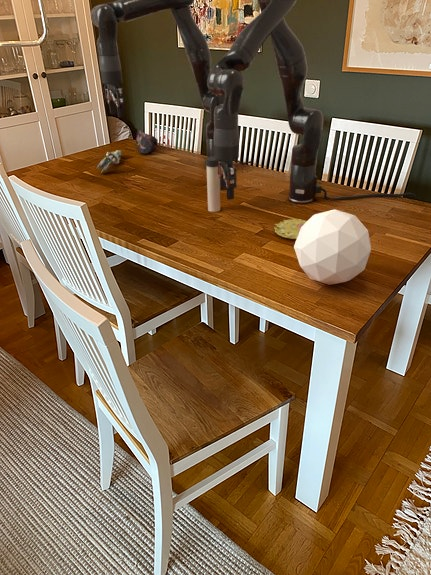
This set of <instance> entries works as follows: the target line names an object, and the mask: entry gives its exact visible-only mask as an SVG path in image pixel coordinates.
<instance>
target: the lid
mask: <svg viewBox="0 0 431 575" xmlns="http://www.w3.org/2000/svg"><path fill="white" fill-rule="evenodd" d="M204 164H205V166H208V167H217V166H218V160H216V159H215V158H214V156H211V157H207V156H206V157H205V160H204Z"/></svg>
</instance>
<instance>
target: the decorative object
mask: <svg viewBox="0 0 431 575" xmlns="http://www.w3.org/2000/svg"><path fill="white" fill-rule="evenodd" d="M307 221H308V220H304V219H303V218H292V219H283V221H279V223H274V227H273V229H274V233H276V234H277V236H279V237H282V238H284V239H285V238H286V239H290V240H297V237H298V234H299V232H300V229H301V227H302V226H303V225H304V224H305V223H306V222H307Z"/></svg>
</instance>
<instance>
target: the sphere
mask: <svg viewBox="0 0 431 575" xmlns="http://www.w3.org/2000/svg"><path fill="white" fill-rule="evenodd" d="M306 221H307V222H306V223H305V224H304V225H303V226H302V227H301V229H300V232H299V234H298V237H297V239H295V242H294V244H293V249H294V252H295V255H296V258H297V261H298V265H299V266H300V269H302V271H303V272H304V273H305V275H306V276H307V277H308V278H309V279H310V280H312V281H316V282H319V283H322V284H325V285H328V286H331V285H336V284H342V283H346V282H348V281H351V280H352V279H354V278H356V277H357V276H358V275H359V274H361V273H362V272H363V271H364V270H365V269H366V266H367V264H368V260H369V257H370V254H371V252H372V245H371V239H370V234H369V233H370V232H369V230H368V228H366V226H365V225H364V224H363V223H362V221H361V220H360V219H359V218H358V217H357V216H356V215H355V214H351V213H349V212H345V211H342V210H338V209H335V208H334V209H331V210H327V211H322V212H318V213H315V214H313V215H312V216H311V217H310V218H309V219H308V220H306Z"/></svg>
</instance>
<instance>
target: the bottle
mask: <svg viewBox="0 0 431 575" xmlns="http://www.w3.org/2000/svg"><path fill="white" fill-rule="evenodd" d="M205 166H206V165H205ZM220 179H221V178H219V175H218V166H217V167H208V166H206V191H207V192H206V193H207V194H206V195H207V211H208V212H210V213H217V212H220V211H221V189H220Z"/></svg>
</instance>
